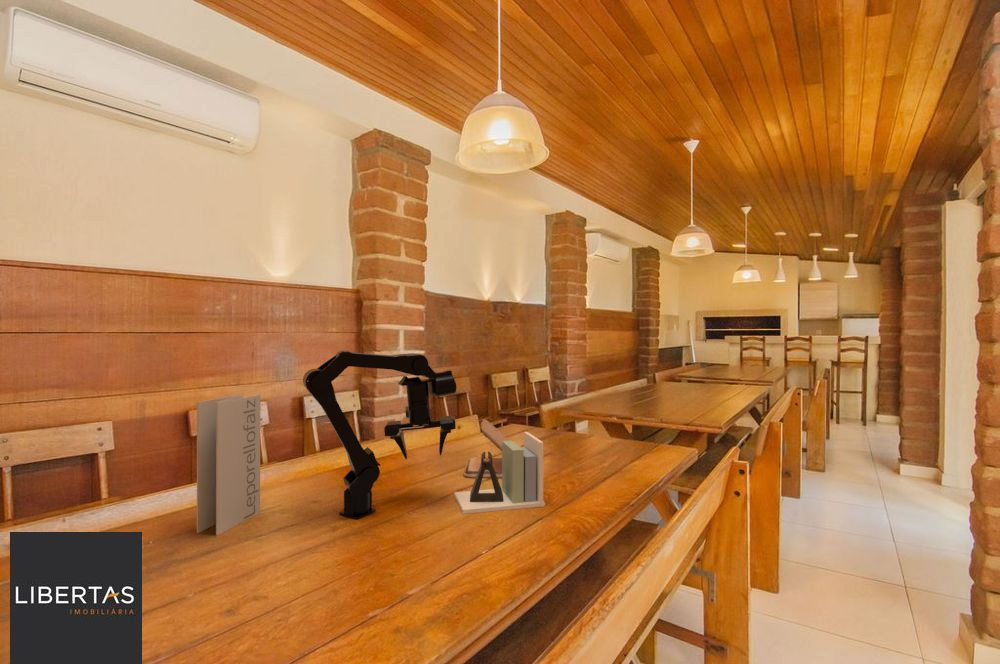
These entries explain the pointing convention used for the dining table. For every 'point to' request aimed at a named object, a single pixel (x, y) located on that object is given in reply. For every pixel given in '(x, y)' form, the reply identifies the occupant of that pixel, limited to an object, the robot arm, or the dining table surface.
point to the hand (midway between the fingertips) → (423, 456)
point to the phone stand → (475, 494)
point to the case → (475, 463)
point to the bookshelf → (514, 479)
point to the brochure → (228, 461)
